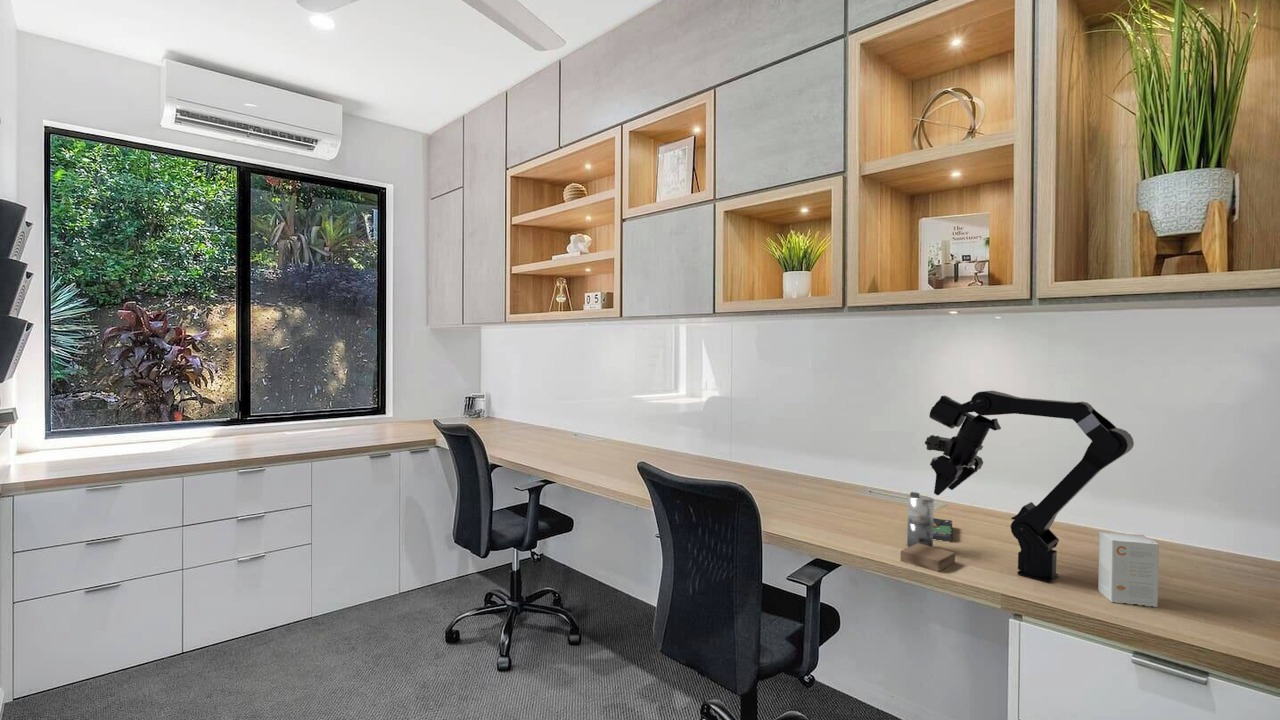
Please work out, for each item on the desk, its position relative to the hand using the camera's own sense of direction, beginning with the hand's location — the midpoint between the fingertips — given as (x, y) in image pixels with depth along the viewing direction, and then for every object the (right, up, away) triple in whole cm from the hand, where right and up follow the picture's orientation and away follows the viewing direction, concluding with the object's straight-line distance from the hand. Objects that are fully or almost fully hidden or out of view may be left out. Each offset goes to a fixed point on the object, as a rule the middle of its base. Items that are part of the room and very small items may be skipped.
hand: (943, 491), depth 151 cm
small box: (+24, -17, -27) cm, 40 cm away
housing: (-4, -15, +3) cm, 16 cm away
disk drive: (+5, -16, +17) cm, 24 cm away
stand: (-7, -15, -7) cm, 18 cm away
